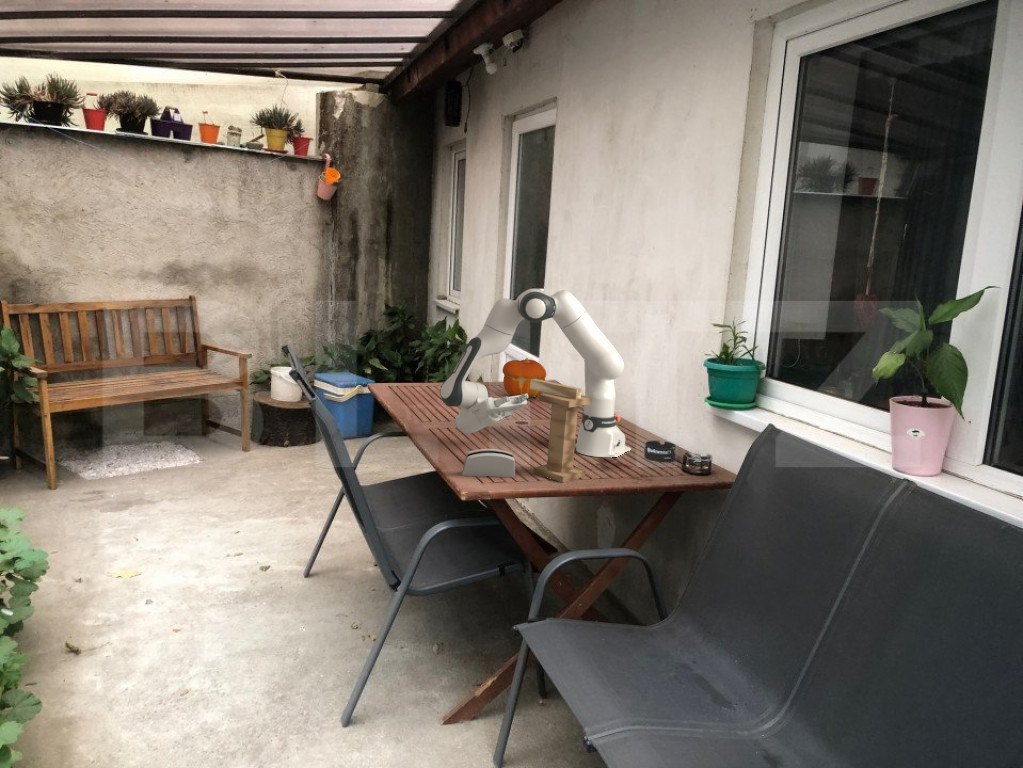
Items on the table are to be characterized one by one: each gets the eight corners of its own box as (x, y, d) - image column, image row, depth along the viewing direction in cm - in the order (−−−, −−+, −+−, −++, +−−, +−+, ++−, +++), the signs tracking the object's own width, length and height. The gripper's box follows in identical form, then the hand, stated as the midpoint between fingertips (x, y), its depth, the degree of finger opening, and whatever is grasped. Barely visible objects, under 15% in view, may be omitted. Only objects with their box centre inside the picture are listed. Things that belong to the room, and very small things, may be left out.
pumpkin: (521, 403, 350) (524, 362, 346) (491, 394, 366) (494, 355, 363) (555, 399, 365) (558, 360, 362) (524, 391, 381) (527, 353, 378)
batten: (534, 388, 241) (535, 379, 240) (580, 398, 228) (581, 388, 228) (529, 389, 239) (530, 379, 238) (576, 399, 226) (576, 389, 226)
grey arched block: (513, 472, 234) (516, 447, 229) (514, 481, 230) (518, 455, 225) (461, 471, 232) (464, 445, 227) (462, 480, 228) (464, 454, 223)
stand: (556, 467, 243) (562, 391, 239) (585, 476, 235) (592, 397, 231) (533, 473, 234) (539, 394, 230) (562, 482, 227) (569, 401, 222)
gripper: (466, 405, 247) (493, 391, 238) (507, 399, 262) (533, 385, 253) (472, 422, 245) (499, 409, 236) (512, 415, 260) (539, 402, 251)
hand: (517, 397), depth 245 cm, fingers open, 8 cm apart
